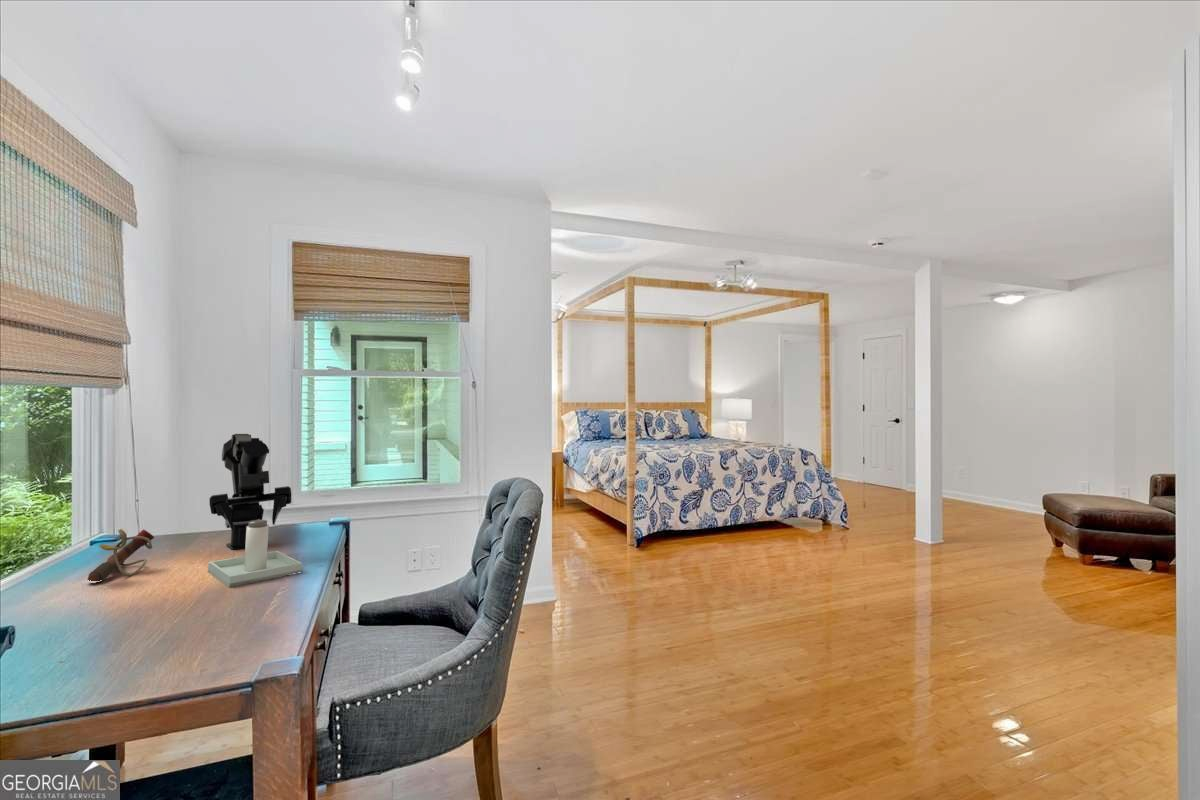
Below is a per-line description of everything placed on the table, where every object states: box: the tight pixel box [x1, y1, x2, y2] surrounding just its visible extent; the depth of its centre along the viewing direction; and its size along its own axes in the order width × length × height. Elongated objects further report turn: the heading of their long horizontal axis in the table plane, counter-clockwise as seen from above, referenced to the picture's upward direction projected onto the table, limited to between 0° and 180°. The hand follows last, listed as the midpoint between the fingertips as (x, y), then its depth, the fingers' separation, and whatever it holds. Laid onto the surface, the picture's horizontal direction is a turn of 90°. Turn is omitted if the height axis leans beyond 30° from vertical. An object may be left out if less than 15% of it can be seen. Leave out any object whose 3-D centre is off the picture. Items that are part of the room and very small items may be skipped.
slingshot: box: [87, 528, 155, 581], centre depth 131 cm, size 17×10×15 cm
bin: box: [207, 550, 303, 588], centre depth 138 cm, size 16×16×2 cm
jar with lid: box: [244, 519, 270, 572], centre depth 138 cm, size 5×5×12 cm
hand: (253, 527), depth 144 cm, fingers open, 9 cm apart
